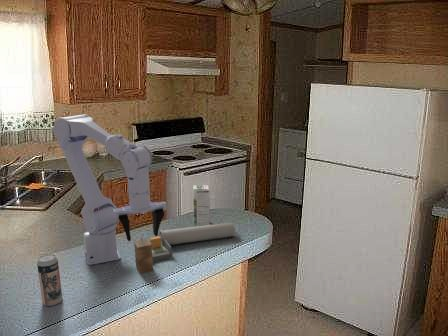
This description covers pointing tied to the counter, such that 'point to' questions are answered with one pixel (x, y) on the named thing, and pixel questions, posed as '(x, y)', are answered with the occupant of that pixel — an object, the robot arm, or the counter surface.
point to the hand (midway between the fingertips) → (142, 237)
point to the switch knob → (155, 241)
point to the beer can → (49, 280)
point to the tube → (197, 233)
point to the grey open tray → (161, 250)
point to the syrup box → (201, 205)
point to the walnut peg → (143, 256)
